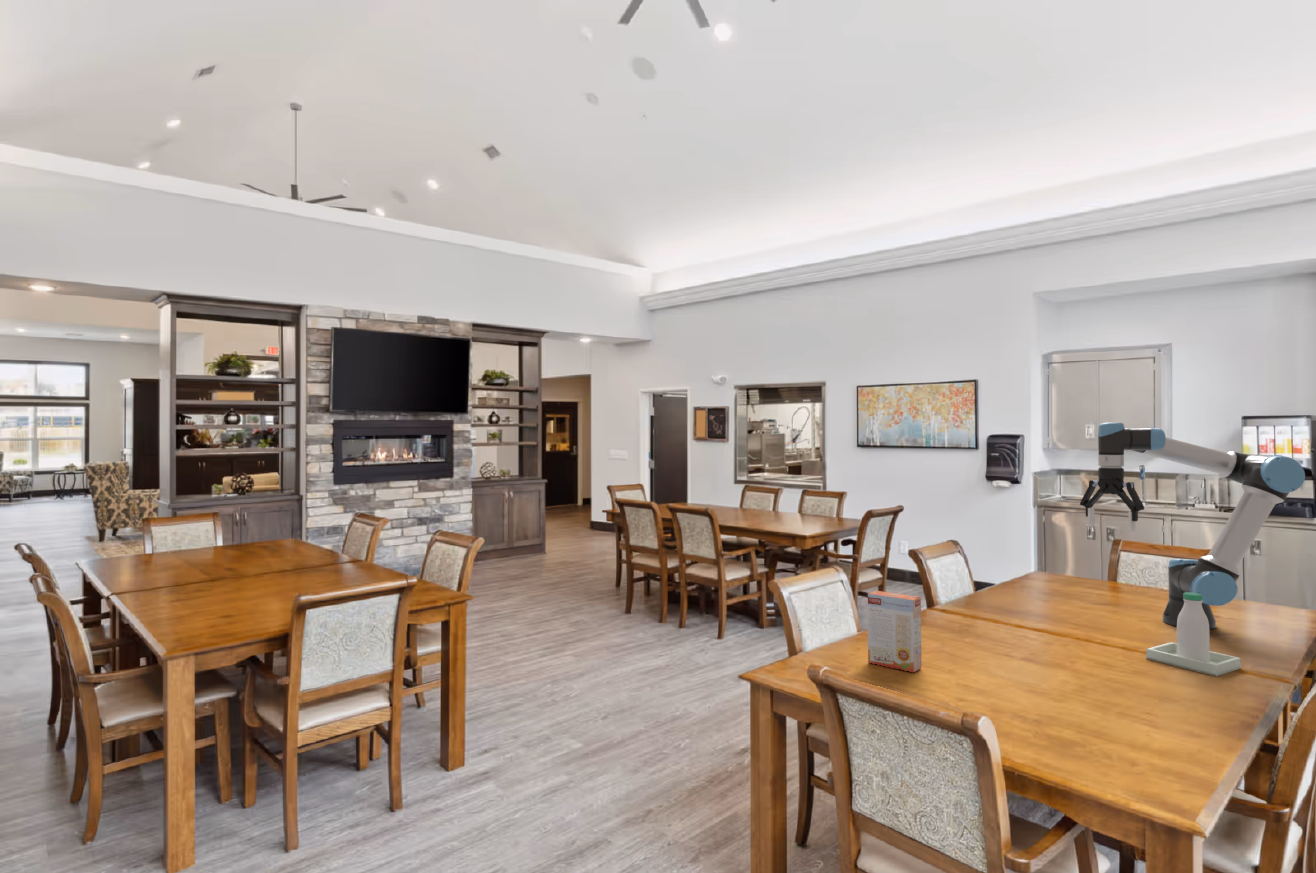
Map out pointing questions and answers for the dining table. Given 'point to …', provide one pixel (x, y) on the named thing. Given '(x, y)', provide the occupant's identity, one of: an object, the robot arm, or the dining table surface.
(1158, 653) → the tray
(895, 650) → the cracker box
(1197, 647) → the milk bottle
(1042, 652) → the dining table surface
